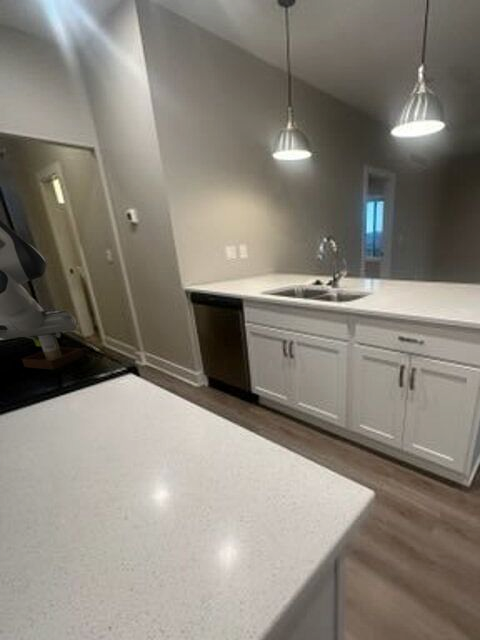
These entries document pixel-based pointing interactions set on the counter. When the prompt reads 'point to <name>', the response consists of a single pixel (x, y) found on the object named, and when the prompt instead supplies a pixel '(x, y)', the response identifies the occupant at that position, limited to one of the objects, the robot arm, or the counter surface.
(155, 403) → the counter surface
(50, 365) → the food tray
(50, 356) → the sprinkles bottle
